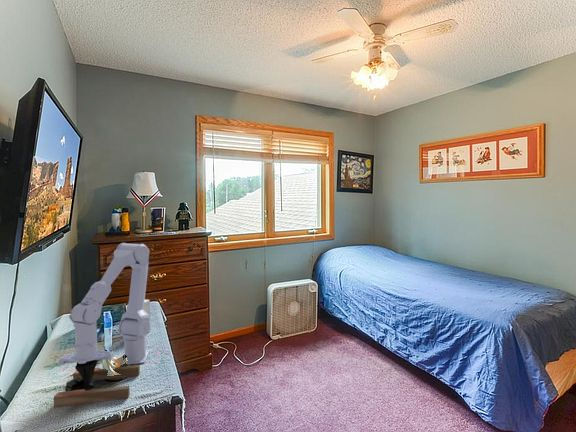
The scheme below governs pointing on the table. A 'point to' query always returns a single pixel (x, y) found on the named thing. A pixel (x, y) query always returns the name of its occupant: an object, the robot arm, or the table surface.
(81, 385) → the black piece
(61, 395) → the walled channel
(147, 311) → the skincare box
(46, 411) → the table surface
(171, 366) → the table surface
